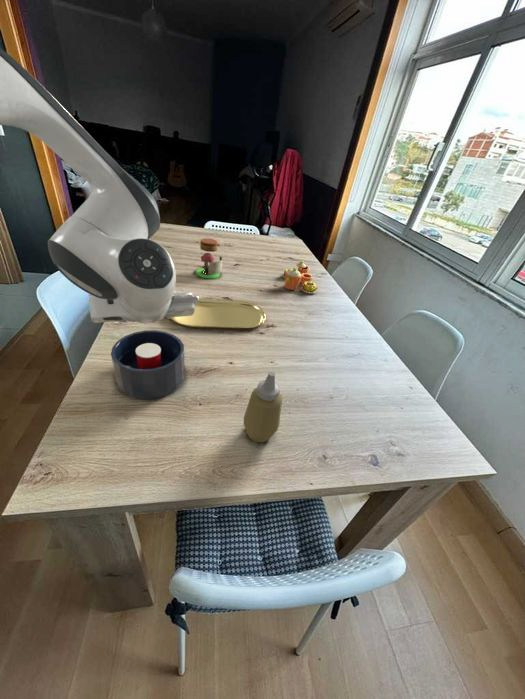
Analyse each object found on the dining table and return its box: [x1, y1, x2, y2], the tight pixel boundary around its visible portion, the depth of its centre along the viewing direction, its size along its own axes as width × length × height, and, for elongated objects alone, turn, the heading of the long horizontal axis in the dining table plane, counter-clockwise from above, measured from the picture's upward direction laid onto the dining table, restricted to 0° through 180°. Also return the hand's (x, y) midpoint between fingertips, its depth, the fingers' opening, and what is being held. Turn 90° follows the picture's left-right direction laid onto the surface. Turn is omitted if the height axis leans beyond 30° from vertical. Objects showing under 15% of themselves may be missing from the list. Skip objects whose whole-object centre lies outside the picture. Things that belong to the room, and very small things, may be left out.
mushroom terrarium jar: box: [195, 237, 223, 280], centre depth 130 cm, size 12×13×15 cm
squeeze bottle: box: [243, 371, 283, 443], centre depth 62 cm, size 8×8×18 cm
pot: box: [110, 329, 186, 400], centre depth 74 cm, size 17×17×9 cm
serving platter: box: [170, 298, 267, 330], centre depth 106 cm, size 19×35×2 cm, turn 99°
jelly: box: [136, 343, 162, 369], centre depth 74 cm, size 6×6×8 cm
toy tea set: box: [282, 260, 318, 294], centre depth 139 cm, size 26×16×10 cm, turn 2°
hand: (144, 316), depth 67 cm, fingers open, 8 cm apart
